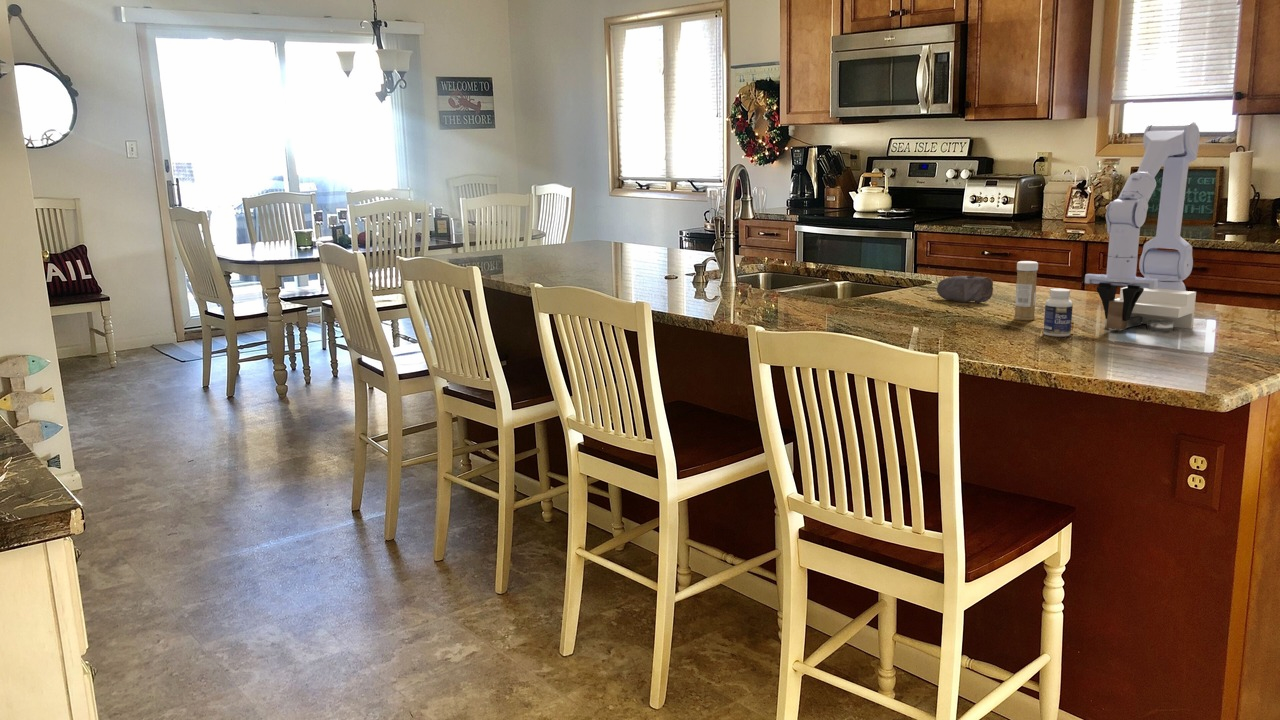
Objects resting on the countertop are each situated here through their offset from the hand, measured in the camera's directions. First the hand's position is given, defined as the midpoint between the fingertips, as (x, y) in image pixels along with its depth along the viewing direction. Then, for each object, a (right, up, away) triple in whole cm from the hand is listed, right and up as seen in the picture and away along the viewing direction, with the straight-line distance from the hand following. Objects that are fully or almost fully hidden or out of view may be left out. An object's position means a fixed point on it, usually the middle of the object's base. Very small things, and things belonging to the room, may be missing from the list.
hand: (1117, 319), depth 217 cm
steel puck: (+10, -2, +2) cm, 11 cm away
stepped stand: (+9, -2, +4) cm, 10 cm away
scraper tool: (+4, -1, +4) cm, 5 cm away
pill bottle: (-14, -4, -1) cm, 14 cm away
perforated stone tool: (-19, +6, +44) cm, 48 cm away
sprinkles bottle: (-14, +1, +17) cm, 22 cm away
